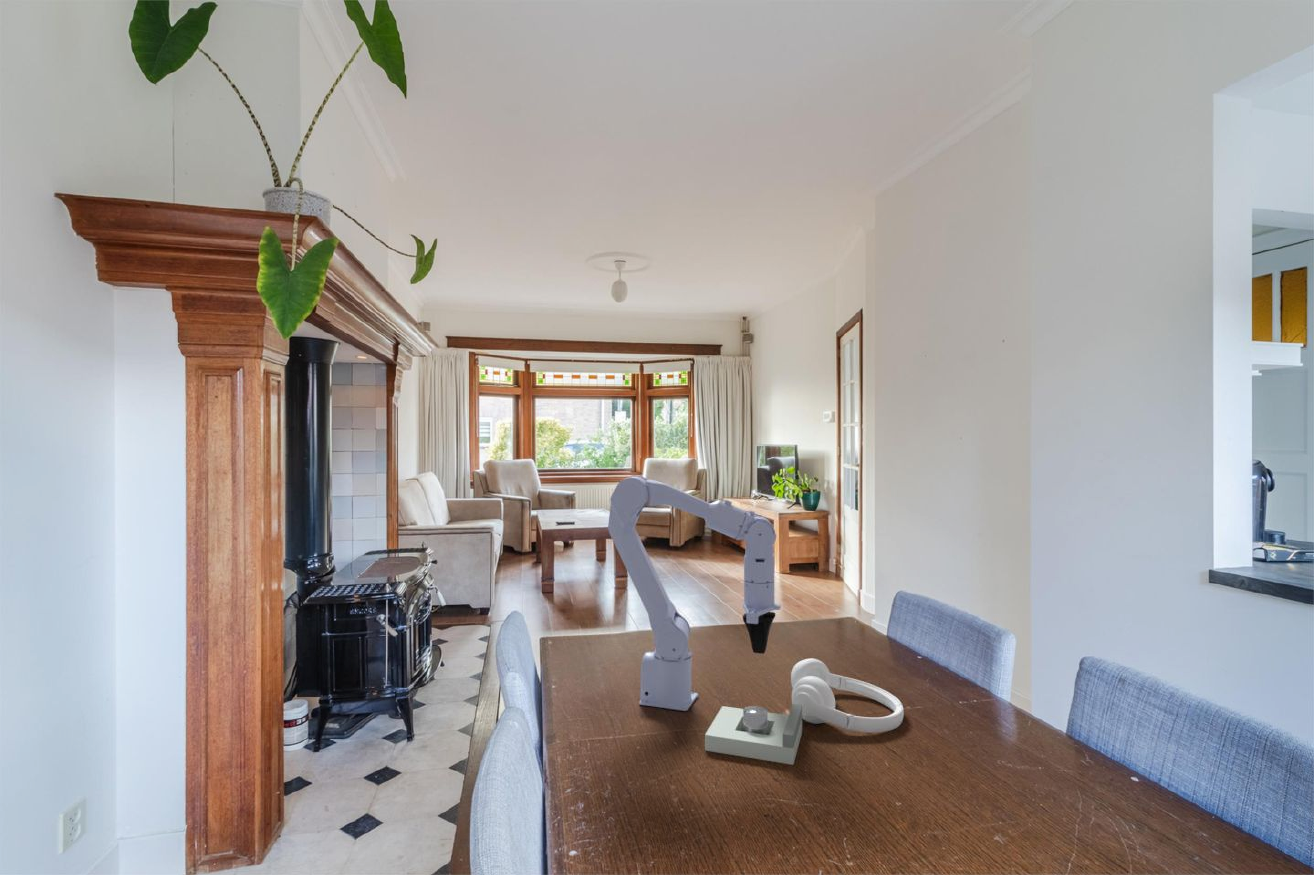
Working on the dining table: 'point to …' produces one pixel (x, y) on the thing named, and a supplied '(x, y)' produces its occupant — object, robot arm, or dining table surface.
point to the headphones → (820, 701)
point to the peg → (755, 720)
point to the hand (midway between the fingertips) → (759, 652)
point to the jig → (756, 736)
